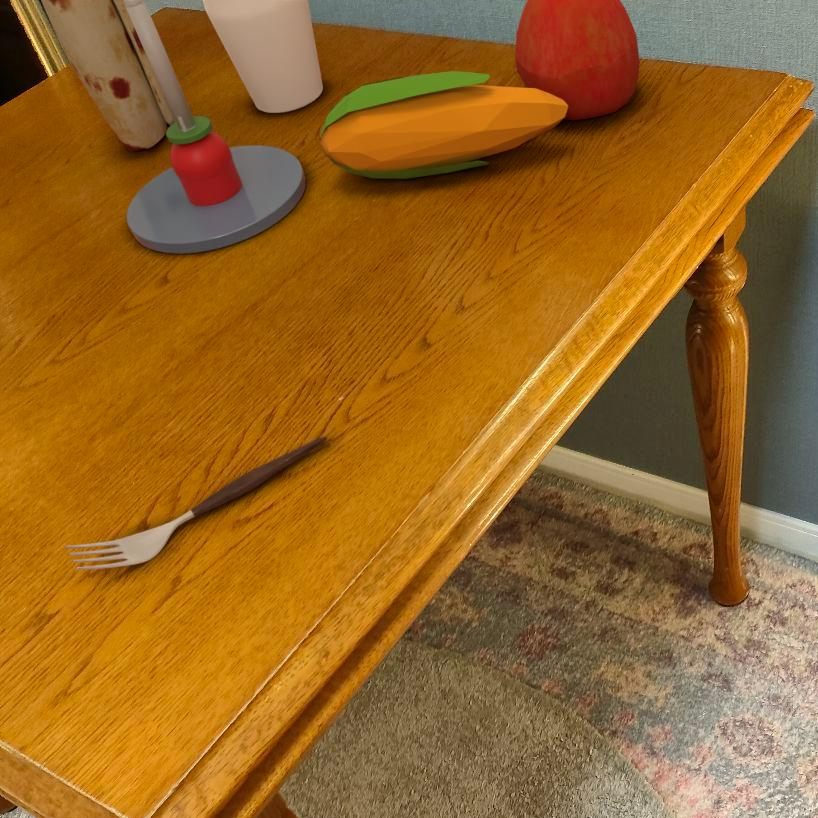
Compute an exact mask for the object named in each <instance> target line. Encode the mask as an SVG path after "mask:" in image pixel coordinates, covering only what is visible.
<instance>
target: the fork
mask: <svg viewBox="0 0 818 818" xmlns="http://www.w3.org/2000/svg"><path fill="white" fill-rule="evenodd" d="M327 439H328V437H327V436H322V437H320V438H317V439H314V440H312V441H309V442H307V443H306V444H304V445H302V446H299V447H297V448H295V449H293V450H291V451H289V452H287V453H285V454H283V455H281V456H279V457H277V458H275V459H273V460H271V461H269V462H267V463H264V464H262V465H260V466H258V467H256V468H253V469H252V470H249V471H248V472H246V473H244V474H242V475H240V476H239V477H237V478H236V479H234V480H232V481H231V482H229V483H228V484H226V485H225V486H224V487H221V488H220V489H219V490H217V491H216V492H214V493H212V494H211V495H210V496H209V497H207V498H205V499H204V500H202V501H201V502H200V503H199V504H196V505H195V506H194V507H193V508H191V509H190V510H189V511H187V512H185V513H184V514H182V515H181V516H179V517H177V518H175V519H173V520H171V521H169V522H167V523H164V524H161V525H159V526H156V527H153V528H150V529H147V530H144V531H141V532H138V533H135V534H132V535H128V536H124V537H121V538H117V539H113V540H108V541H101V542H91V543H84V544H71V545H69V544H68V545H66V546H65V549H67V550H69V549H70V550H71V549H87V548H100V547H110V546H115V547H110V548H103V549H95V550H88V551H77V552H69V554H68V556H72V557H73V556H74V557H75V556H90V555H91V556H92V555H103V554H113V553H119V554H114V555H108V556H100V557H90V558H82V559H73V560H72V563H73V564H79V563H80V564H81V563H95V562H107V561H109V562H110V561H117V560H124V561H119V562H111V563H105V564H104V563H103V564H96V565H88V566H77V567H76V568H75V569H76V571H87V570H88V571H90V570H91V571H92V570H103V569H113V568H122V567H127V566H135V565H139V564H143V563H147V562H148V561H149V562H150V561H151V560H152V559H154V558H155V557H156V556H158V554H159V553H161V551H162V550H163V548H164V547H165V546H166V544H167V542H168V541H169V539H170V538H171V536H172V534H173V533H174V532H175V530H176V529H177V528H178V527H180V525H182V524H183V523H186V522H187V521H190V520H191V519H193V518H195V517H197V516H200V515H202V514H204V513H206V512H207V513H208V511H211V510H213V509H215V508H218V507H220V506H222V505H225V504H226V503H228V502H231V501H233V500H235V499H237V498H239V497H241V496H244V495H245V494H247V493H249V492H250V491H252V490H254V489H256V488H257V487H259V486H260V485H262V484H263V483H265V482H266V481H268V480H269V479H270V478H272V477H273V476H275V475H276V474H278V473H280V472H281V471H282V470H283V469H285V468H286V467H288V466H290V465H291V464H293V463H295V462H296V461H298V460H300V459H301V458H303V457H304V456H306V455H307V454H309V453H311V452H312V451H314V450H315V449H317V448H318V447H319V446H320V445H322V444H323V443H324V442H325V441H327Z"/></svg>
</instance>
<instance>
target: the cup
mask: <svg viewBox="0 0 818 818" xmlns="http://www.w3.org/2000/svg"><path fill="white" fill-rule="evenodd" d="M202 2H203V7H204V10H205V13H206V15H207V17H208V19H209V21H210V23H211V24H212V27H213V28H214V30H215V32H216V34H217V36H218V38H219V39H220V42H221V44H222V45H223V47H224V49H225V51H226V53H227V55H228V57H229V58H230V61H231V63H232V64H233V66H234V68H235V70H236V72H237V74H238V76H239V77H240V79H241V82H242V83H243V85H244V87H245V89H246V91H247V93H248V94H249V97H250V98H251V100H252V102H253V103H254V105H255V107H256V109H257V110H259V111H262V112H264V113H268V114H269V113H270V114H284V113H289V112H293V111H296V110H300V109H302V108H304V107H306V106H308V105H310V104H312V103H313V102H314V101H316V100H317V99H318V98H319V97H320V96H321V94H322V92H323V90H324V87H323V86H324V85H323V80H322V74H321V68H320V62H319V55H318V52H317V51H318V50H317V45H316V40H315V34H314V28H313V22H312V21H313V20H312V16H311V11H310V5H309V0H202Z"/></svg>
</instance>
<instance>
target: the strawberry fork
mask: <svg viewBox="0 0 818 818" xmlns="http://www.w3.org/2000/svg"><path fill="white" fill-rule="evenodd" d="M124 4H125V7H126V9H127V12H128V14H129V16H130V18H131V21H132V23H133V25H134V28H135V30H136V32H137V34H138V37H139V39H140V41H141V44H142V46H143V48H144V50H145V53H146V55H147V57H148V59H149V62H150V64H151V66H152V69H153V71H154V73H155V75H156V78H157V80H158V82H159V85H160V87H161V89H162V91H163V94H164V96H165V98H166V101H167V103H168V105H169V107H170V110H171V112H172V114H173V117H174V119H175V121H176V123H174V124H173V125H171V126H170V125H169V127H167V131H166V133H165V136H166V138H167V140H168V142H169V143H171V144H172V145H171V148H170V152H169V153H170V156H169V157H170V163H171V167H173V170H174V172H175V173H176V175H177V176H178V178H179V180H180V182H181V184H182V186H183V189H184V191H185V193H186V195H187V197H188V200H189V201H190V202H191V203H192V204H194V205H198V206H209V205H214V204H218V203H221V202H224V201H226V200H228V199H230V198H231V197H233V196H234V195H236V194H237V193H238V192H239V191H240V189H241V187H242V181H241V178H240V176H239V174H238V171H237V169H236V166H235V164H234V161H233V158H232V154H231V151H230V148H231V147H230V146H229V145H228V143H227V142H226V140H225V139H224V138H223V137H222V136H221V135H220V134H218V133H217V132H215V131H213V124H212V122H211V119H209V117H206V116H203V115H196V116H195V115H193V113H192V110H191V108H190V105H189V103H188V101H187V98H186V96H185V94H184V91H183V89H182V86H181V84H180V82H179V80H178V77H177V75H176V73H175V70H174V68H173V66H172V62H171V60H170V58H169V56H168V54H167V52H166V49H165V47H164V44H163V42H162V39H161V37H160V35H159V33H158V30H157V27H156V25H155V23H154V21H153V18H152V16H151V14H150V11H149V8H148V6H147V4H146V2H145V0H124Z"/></svg>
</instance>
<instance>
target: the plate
mask: <svg viewBox="0 0 818 818" xmlns="http://www.w3.org/2000/svg"><path fill="white" fill-rule="evenodd" d="M229 148H230V151H231V154H232V158H233V161H234V164H235V166H236V169H237V171H238V174H239V176H240V178H241V181H242V187H241V189H240V191H239V192H238V193H237V194H236V195H234V196H233V197H231V198H230V199H228V200H226V201H224V202H221V203H218V204H214V205H209V206H198V205H194V204H192V203H191V202H190V201H189V200H188V197H187V195H186V193H185V191H184V189H183V186H182V184H181V182H180V180H179V178H178V176H177V175H176V173H175V172H174V170H173V167H172V166H171V167H169V168H167V169H166V170H164V171H163V172H160V173H159V174H158V175H156V176H155V177H154V178H152V179H151V180H150V181H148V182H147V183H146V184H145V185H144V186H142V188H141V189H140V190H138V192H137V193H136V194H135V195H134V196H133V198H132V199H131V202H130V203H129V204H128V205H129V206H128V208H127V211H126V223H127V226H128V228H129V230H130V232H131V234H132V236H133V237H134V239H135V240H136V241H137V242H138V243H139V244H140V245H141V246H143V247H145V248H147V249H149V250H152V251H156V252H158V253H159V252H160V253H165V254H174V255H175V254H177V255H178V254H179V255H181V254H182V255H183V254H194V253H195V254H197V253H203V252H209V251H213V250H218V249H222V248H226V247H228V246H232V245H235V244H237V243H240V242H243V241H246V240H247V239H250V238H252V237H254V236H257V235H259V234H260V233H262V232H264V231H266V230H267V229H269V228H271V227H273V226H274V225H275V224H278V223H279V222H280V221H281V220H283V218H285V217H286V216H287V215H288V214H289V213H290V212H292V210H293V209H295V207H296V206H297V205H298V203H299V202H300V200H301V199H302V197H303V195H304V194H305V193H304V192H305V191H306V186H307V178H306V175H305V172H304V169H303V166H302V164H301V162H300V161H299V159H298V158H297V157H296V156H295V155H294V154H293V153H291V152H289V151H287V150H285V149H283V148H279V147H274V146H268V145H258V144H257V145H255V144H253V145H241V146H240V145H238V146H231V147H229Z"/></svg>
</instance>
